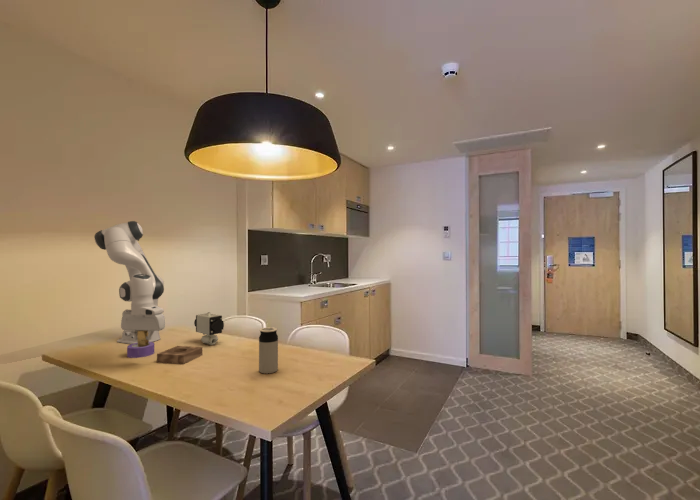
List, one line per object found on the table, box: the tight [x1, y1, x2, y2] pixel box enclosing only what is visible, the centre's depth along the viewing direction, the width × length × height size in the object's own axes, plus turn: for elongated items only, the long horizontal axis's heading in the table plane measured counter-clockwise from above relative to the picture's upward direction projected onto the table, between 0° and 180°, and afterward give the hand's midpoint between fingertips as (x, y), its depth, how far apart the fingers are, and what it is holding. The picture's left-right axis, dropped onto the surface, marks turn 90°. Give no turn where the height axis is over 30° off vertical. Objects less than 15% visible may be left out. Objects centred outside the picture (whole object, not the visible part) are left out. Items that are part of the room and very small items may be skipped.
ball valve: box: [193, 311, 225, 346], centre depth 190 cm, size 18×8×18 cm, turn 56°
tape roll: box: [126, 341, 155, 359], centre depth 170 cm, size 12×12×5 cm
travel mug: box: [258, 326, 279, 375], centre depth 146 cm, size 8×8×18 cm
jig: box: [156, 345, 203, 365], centre depth 163 cm, size 14×14×4 cm
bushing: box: [137, 330, 149, 347], centre depth 155 cm, size 4×4×7 cm
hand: (143, 339), depth 155 cm, fingers closed on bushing, 4 cm apart
